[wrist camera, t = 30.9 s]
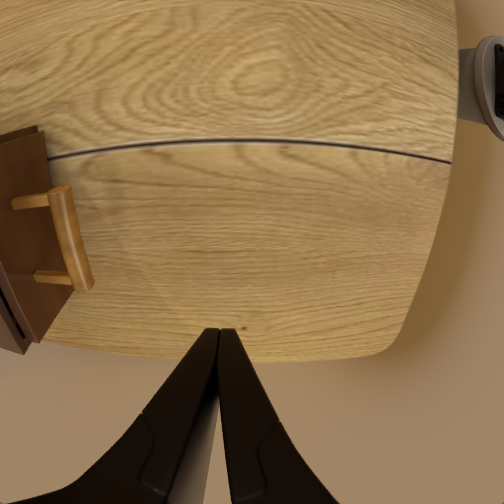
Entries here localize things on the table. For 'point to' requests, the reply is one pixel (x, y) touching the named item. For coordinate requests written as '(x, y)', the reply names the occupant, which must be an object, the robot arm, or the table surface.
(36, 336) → the drawer
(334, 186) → the table surface
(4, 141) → the cabinet
